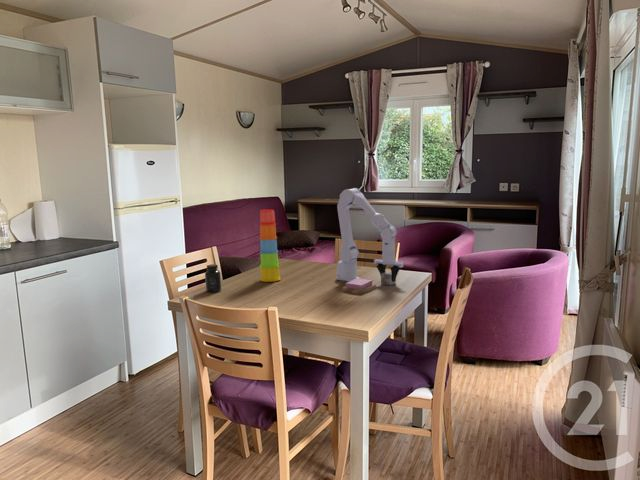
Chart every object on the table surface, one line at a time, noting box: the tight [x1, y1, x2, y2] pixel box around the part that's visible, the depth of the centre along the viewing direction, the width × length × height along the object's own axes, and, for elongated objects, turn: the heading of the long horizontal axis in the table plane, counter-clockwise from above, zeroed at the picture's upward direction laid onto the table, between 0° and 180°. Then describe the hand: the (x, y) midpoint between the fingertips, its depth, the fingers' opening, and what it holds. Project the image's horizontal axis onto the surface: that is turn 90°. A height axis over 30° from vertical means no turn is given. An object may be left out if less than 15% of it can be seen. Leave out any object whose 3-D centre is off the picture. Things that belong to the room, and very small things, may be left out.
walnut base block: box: [341, 283, 377, 295], centre depth 219 cm, size 10×12×2 cm
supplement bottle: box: [204, 263, 222, 294], centre depth 221 cm, size 7×7×12 cm
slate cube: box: [380, 270, 397, 286], centre depth 227 cm, size 5×5×5 cm
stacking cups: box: [259, 209, 282, 283], centre depth 237 cm, size 10×10×35 cm
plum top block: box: [345, 278, 373, 290], centre depth 218 cm, size 8×10×2 cm
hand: (388, 280), depth 227 cm, fingers closed on slate cube, 5 cm apart
